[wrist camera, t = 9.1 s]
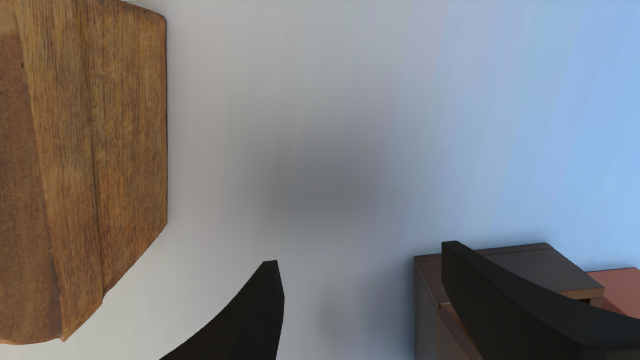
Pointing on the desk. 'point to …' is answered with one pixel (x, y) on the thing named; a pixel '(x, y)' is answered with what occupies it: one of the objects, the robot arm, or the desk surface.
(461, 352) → the lid
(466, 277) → the robot arm
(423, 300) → the box
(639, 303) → the note cube
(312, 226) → the desk surface
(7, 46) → the wooden box
